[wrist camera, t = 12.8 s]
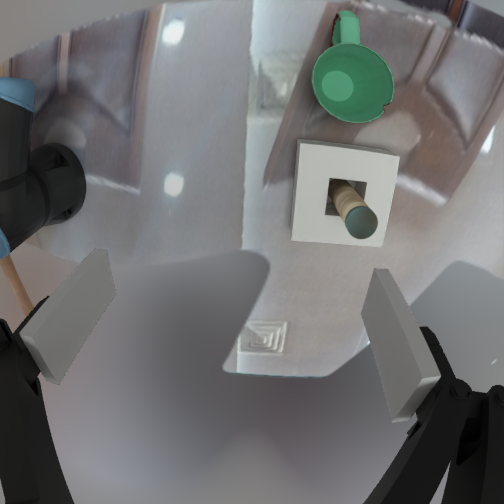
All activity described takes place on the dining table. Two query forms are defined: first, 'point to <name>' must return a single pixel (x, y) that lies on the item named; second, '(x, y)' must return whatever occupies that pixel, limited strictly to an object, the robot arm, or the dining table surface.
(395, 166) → the socket block
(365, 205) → the peg
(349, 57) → the mug
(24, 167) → the robot arm
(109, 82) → the dining table surface
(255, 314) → the dining table surface
